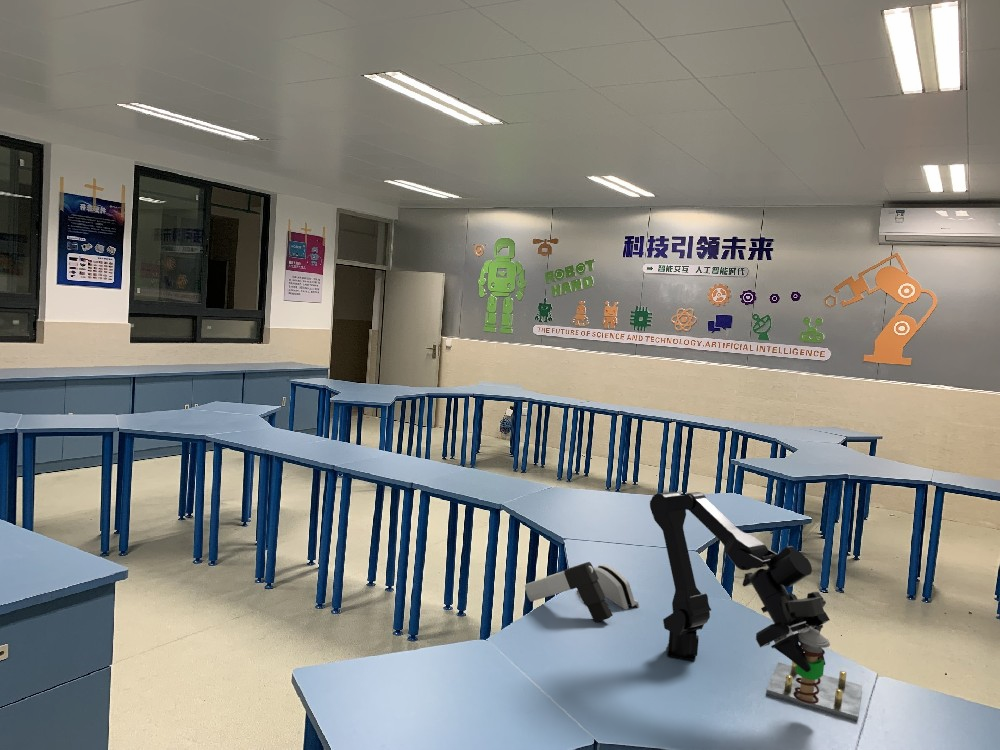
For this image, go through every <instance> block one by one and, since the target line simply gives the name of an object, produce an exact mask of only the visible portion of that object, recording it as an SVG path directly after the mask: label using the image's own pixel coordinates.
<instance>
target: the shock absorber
mask: <svg viewBox="0 0 1000 750" xmlns="http://www.w3.org/2000/svg"><path fill="white" fill-rule="evenodd" d="M799 641H801V642H802V643H805V644H800V643H799V645H800V647H801V649H802V651H803V653H804V655H805V657H806V659H807V661H808V663H809V666H810V668H811V671H809V672H806V671H804V670H803V669H802V668H800V667H799V666H798V665H796V673H797V674H798V675H800V676H801V677H802V678H796V681H797V682H798V683H800V684H801V685H800V687H796V688H795V692H794V693H793V695H794V697H795V698H797V699H798V700H799V701H800V702H802V703H804V704H815V703H818V701H819V699H818V697H817V696H816V694H818V693H819V688H818V686H817V685H818V684H820V682H821V680H820V677H822V676H823V675H824V670H825V669H824V668H825V665H824V660H825V659H824V660H822V658H821V657H820V656H822V655H823V656H825V654H826V652H825V650H824V649H823V648H829V647H831V642H830V641H829V639H827V638H826V637H824V635H823V634H821V631H818V630H816V629H809V631H806V632H802V633H799ZM818 658H819V659H818ZM816 679H818V682H817V683H815V680H816ZM799 680H801V681H799ZM814 686H815V687H816V689H817V691H816V692H814Z"/></svg>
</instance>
